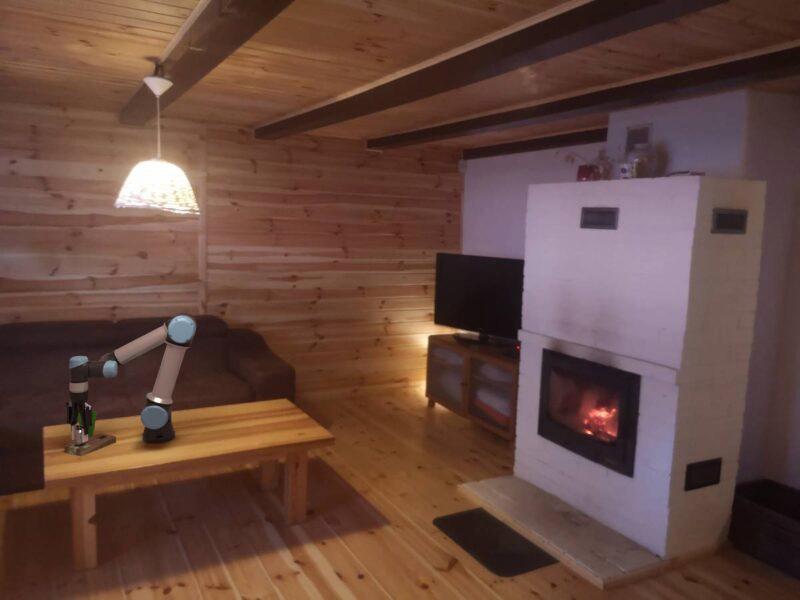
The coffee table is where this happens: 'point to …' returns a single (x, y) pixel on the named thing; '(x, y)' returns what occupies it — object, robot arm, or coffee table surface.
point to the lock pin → (79, 436)
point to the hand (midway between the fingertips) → (79, 440)
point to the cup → (91, 429)
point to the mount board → (90, 444)
